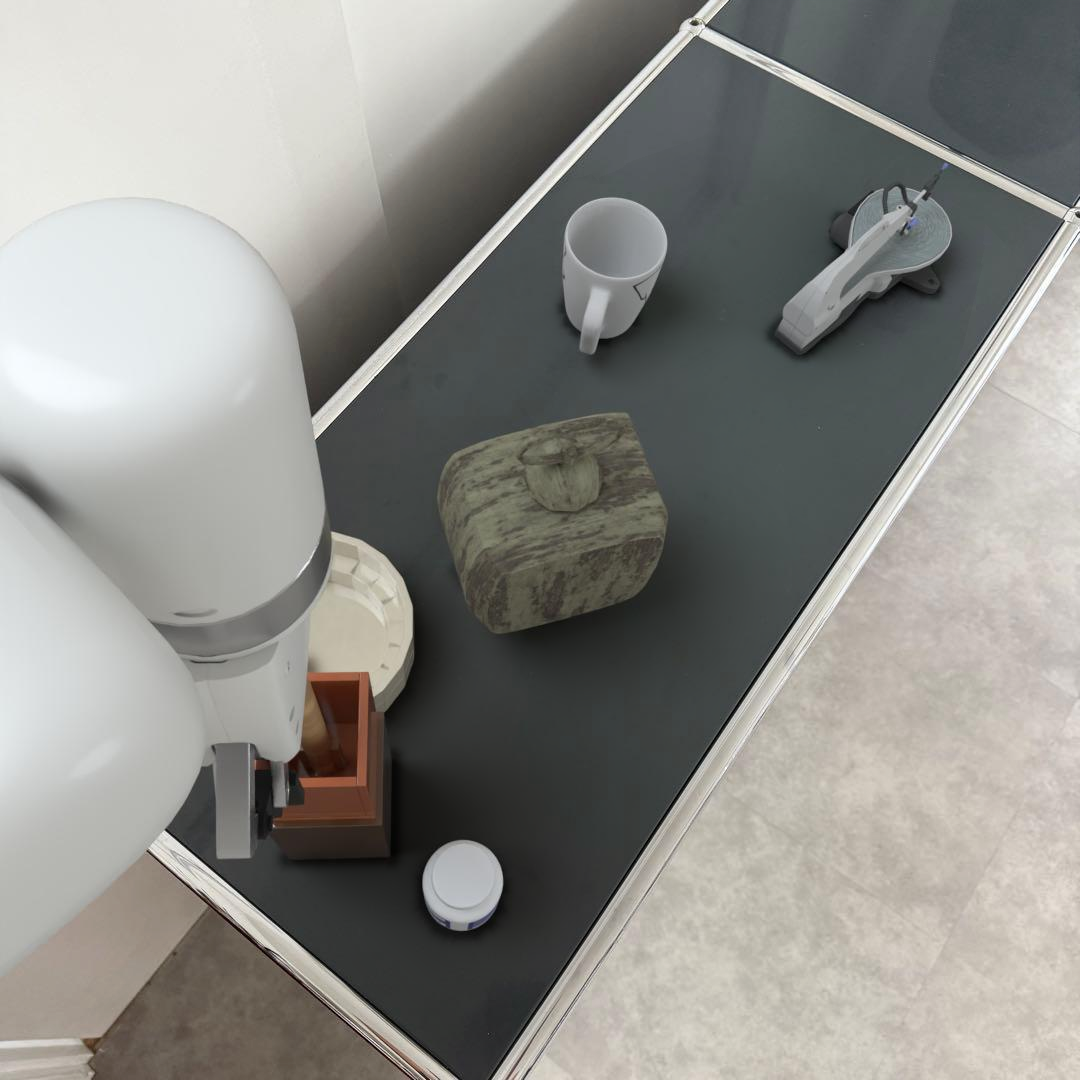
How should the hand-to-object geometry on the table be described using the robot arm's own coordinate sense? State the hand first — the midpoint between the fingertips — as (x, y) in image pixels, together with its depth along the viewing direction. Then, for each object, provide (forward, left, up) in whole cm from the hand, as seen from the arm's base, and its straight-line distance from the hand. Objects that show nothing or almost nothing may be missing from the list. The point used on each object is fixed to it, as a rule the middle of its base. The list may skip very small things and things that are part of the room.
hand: (275, 693), depth 51 cm
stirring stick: (+1, +1, -17) cm, 17 cm away
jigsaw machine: (+46, +47, -31) cm, 73 cm away
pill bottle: (+9, -6, -31) cm, 33 cm away
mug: (+22, +42, -31) cm, 57 cm away
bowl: (-1, +12, -31) cm, 33 cm away
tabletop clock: (+16, +17, -31) cm, 39 cm away
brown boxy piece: (+1, 0, -31) cm, 31 cm away
